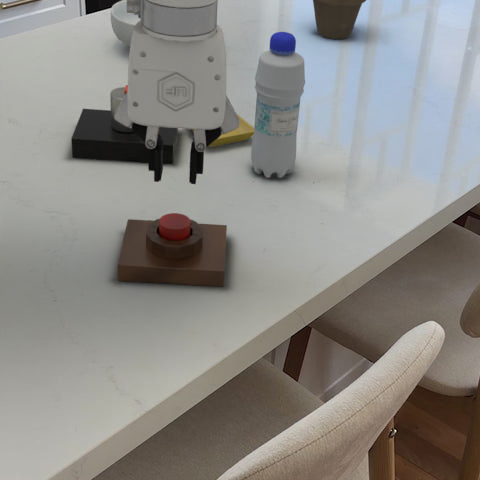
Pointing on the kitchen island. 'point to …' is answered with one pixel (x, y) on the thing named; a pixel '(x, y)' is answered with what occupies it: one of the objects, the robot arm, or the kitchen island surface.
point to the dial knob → (116, 99)
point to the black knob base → (115, 140)
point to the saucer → (234, 134)
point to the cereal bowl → (123, 22)
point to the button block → (173, 255)
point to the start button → (174, 227)
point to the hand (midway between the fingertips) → (175, 175)
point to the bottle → (277, 106)
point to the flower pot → (336, 17)
